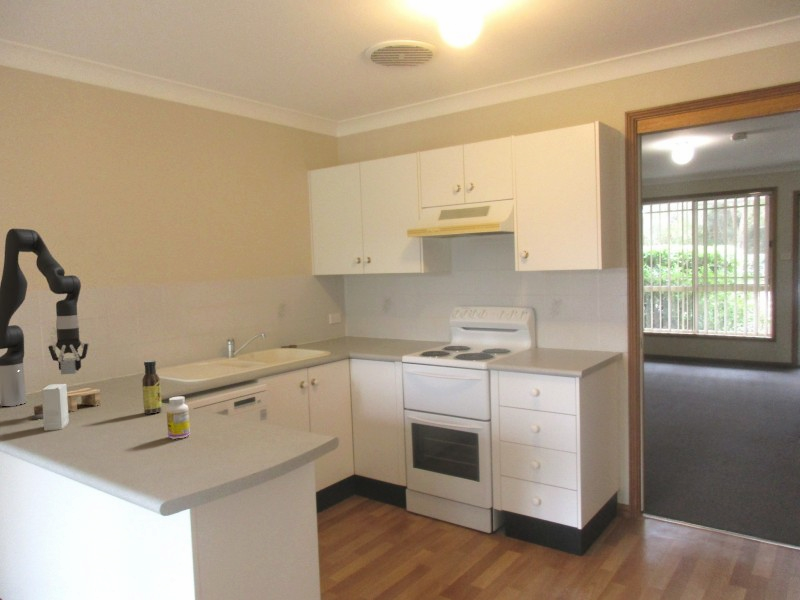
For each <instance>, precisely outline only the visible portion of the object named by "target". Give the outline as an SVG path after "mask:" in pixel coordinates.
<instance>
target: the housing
mask: <svg viewBox="0 0 800 600" xmlns="http://www.w3.org/2000/svg"><path fill="white" fill-rule="evenodd" d="M76 361H77V360H76V358H75V357H65V358H63V360H62V361H60V363H61V370H60V375H74V374H77V373H78V372H79V371H80V369H79V370H77V368H76Z"/></svg>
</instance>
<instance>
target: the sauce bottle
mask: <svg viewBox="0 0 800 600" xmlns="http://www.w3.org/2000/svg"><path fill="white" fill-rule="evenodd" d="M156 363H157V362H156V360H145V361H144V362H143V365H144V373H145V374H144V376H143V377H142V381H141V382H142V399H143V409H144V414H145V413H146V415H152V414H151V413H155V414H158V413H157V412H159V413H161V412H162V407H163V406H162V392H161V391H162V389H161V379H160V377H159V375H158V374H157V368H156ZM160 411H161V412H160Z"/></svg>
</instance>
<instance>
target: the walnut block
mask: <svg viewBox="0 0 800 600" xmlns="http://www.w3.org/2000/svg"><path fill="white" fill-rule="evenodd" d="M33 412H34V415H37V414H43V403H42V404H38V405H35V406H34V407H33Z"/></svg>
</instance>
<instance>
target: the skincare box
mask: <svg viewBox="0 0 800 600" xmlns="http://www.w3.org/2000/svg"><path fill="white" fill-rule="evenodd" d="M67 385H68V384H67V383H57V384H55V383H53V384H48V385H47V386H46V387H45V386H44V388H42V389H41V394H42V395H41V396H42V404H43V418H44V419H43V430H44V431H56V430H58V429H59V430H63V429H64V428H65V427H66V426H67V425H68V424H69V411H68V400H67V392H68V388H67V387H68V386H67Z"/></svg>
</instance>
